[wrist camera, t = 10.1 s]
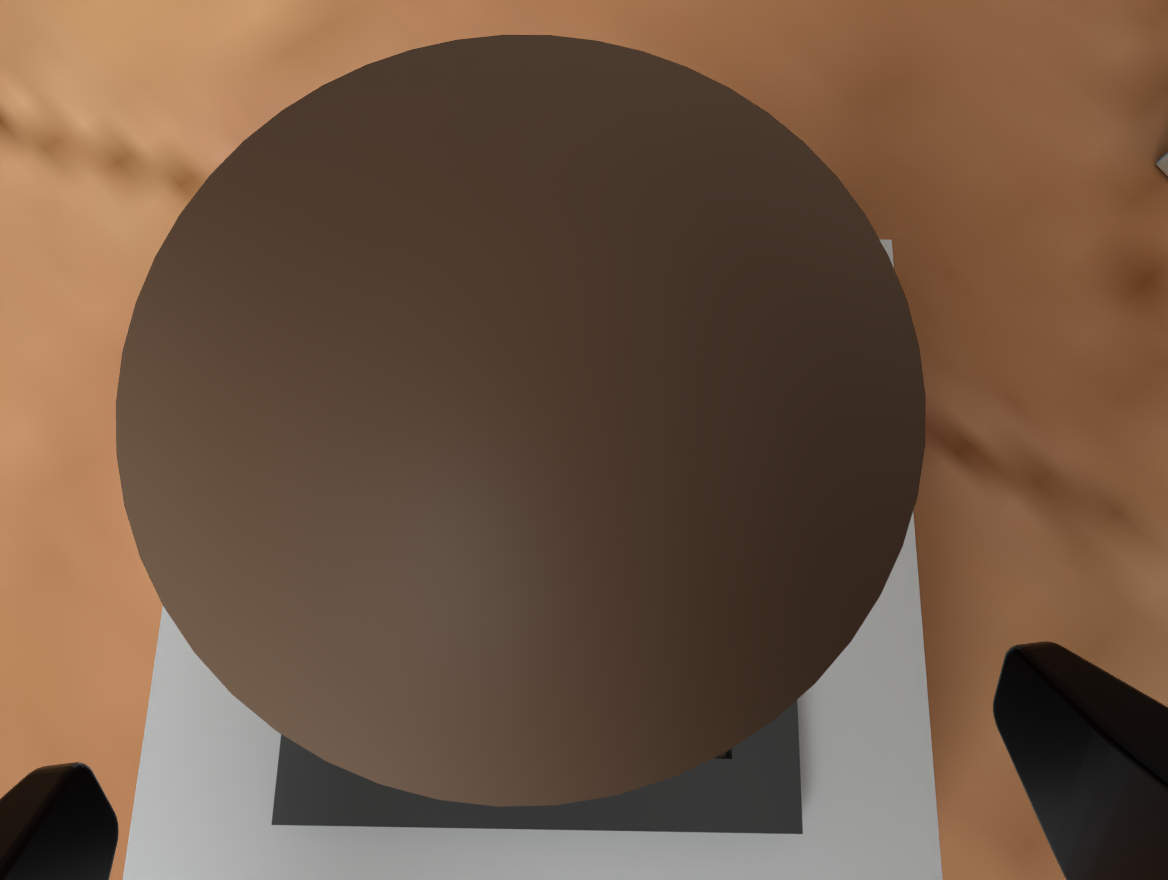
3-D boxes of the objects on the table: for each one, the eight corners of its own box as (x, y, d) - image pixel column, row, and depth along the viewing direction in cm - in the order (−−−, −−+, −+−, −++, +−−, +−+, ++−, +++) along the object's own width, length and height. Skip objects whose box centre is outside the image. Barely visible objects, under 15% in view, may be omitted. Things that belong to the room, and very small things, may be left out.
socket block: (864, 920, 15) (968, 1010, 11) (209, 910, 15) (88, 998, 11) (830, 316, 18) (903, 226, 14) (283, 299, 18) (208, 201, 14)
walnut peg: (598, 725, 16) (743, 975, 3) (415, 634, 16) (-55, 563, 4) (681, 539, 17) (1027, 210, 4) (506, 456, 17) (368, -66, 5)
